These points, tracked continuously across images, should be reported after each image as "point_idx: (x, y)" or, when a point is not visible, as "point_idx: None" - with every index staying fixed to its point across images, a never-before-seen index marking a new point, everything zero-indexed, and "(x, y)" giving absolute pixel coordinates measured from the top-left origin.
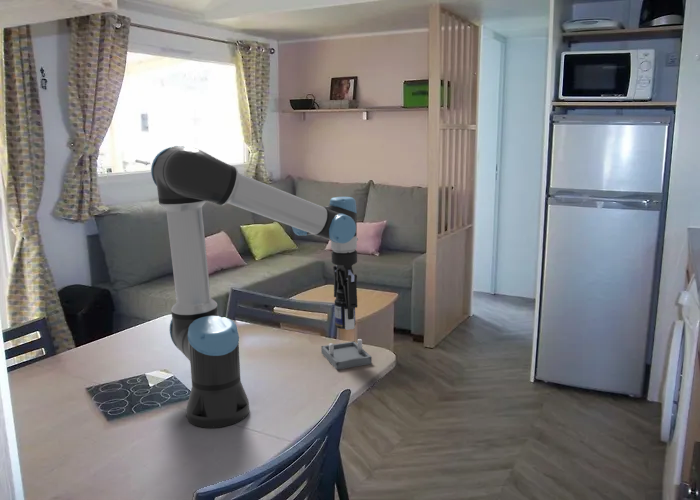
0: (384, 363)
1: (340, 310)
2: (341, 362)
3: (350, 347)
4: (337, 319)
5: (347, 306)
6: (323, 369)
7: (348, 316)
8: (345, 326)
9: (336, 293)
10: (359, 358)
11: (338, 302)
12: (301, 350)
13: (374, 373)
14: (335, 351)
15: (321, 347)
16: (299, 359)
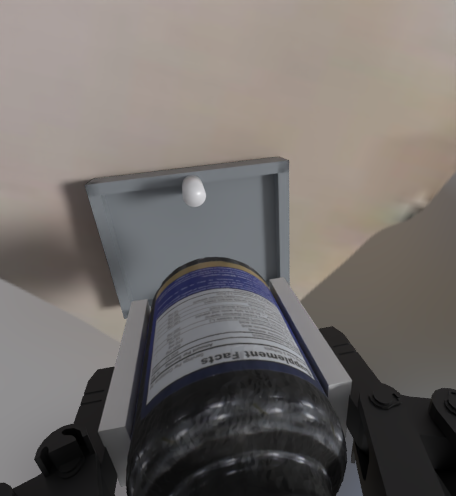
0: None
1: (154, 369)
2: (92, 206)
3: (261, 268)
4: (182, 292)
5: (47, 482)
6: (104, 125)
7: (102, 385)
8: (136, 311)
9: (429, 462)
10: (115, 278)
11: (168, 432)
12: (337, 75)
13: (42, 297)
14: (241, 209)
15: (285, 159)
16: (241, 38)
